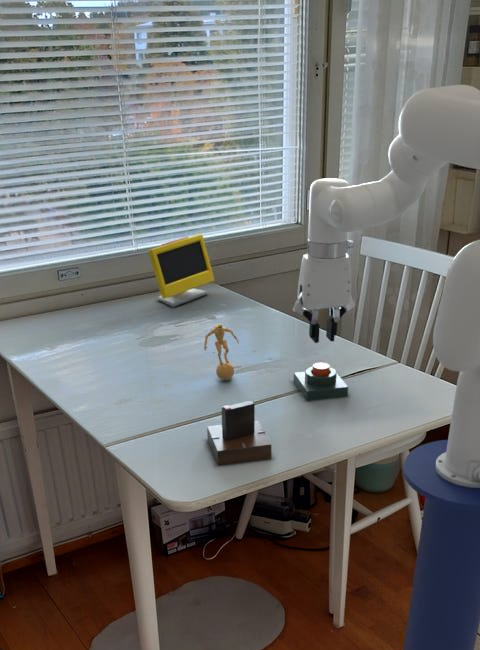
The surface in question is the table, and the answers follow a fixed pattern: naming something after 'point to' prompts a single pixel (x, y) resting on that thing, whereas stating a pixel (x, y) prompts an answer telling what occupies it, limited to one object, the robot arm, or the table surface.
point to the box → (320, 385)
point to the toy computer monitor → (181, 269)
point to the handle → (238, 420)
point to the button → (321, 369)
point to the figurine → (224, 368)
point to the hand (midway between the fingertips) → (322, 339)
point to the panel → (239, 446)
